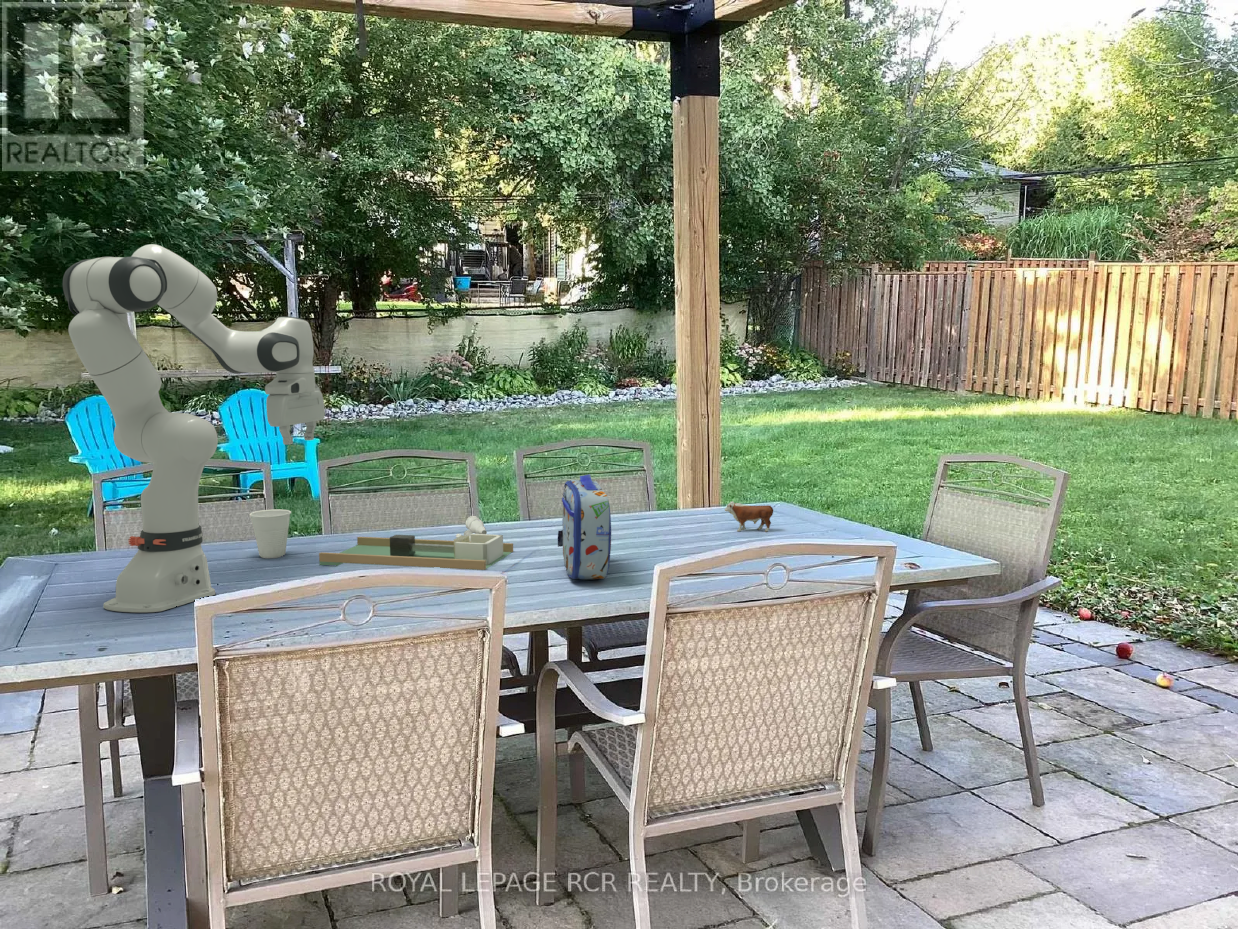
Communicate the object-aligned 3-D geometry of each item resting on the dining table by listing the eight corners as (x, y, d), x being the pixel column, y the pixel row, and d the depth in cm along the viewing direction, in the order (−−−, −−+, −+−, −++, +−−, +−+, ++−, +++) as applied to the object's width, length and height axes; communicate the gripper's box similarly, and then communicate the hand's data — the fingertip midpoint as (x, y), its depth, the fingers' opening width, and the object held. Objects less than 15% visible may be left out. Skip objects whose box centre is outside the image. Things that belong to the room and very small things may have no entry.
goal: (487, 565, 236) (486, 544, 235) (455, 563, 237) (454, 542, 237) (503, 555, 246) (502, 535, 246) (472, 553, 248) (472, 533, 247)
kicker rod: (462, 559, 240) (461, 540, 240) (388, 556, 245) (388, 536, 244) (469, 555, 245) (469, 535, 244) (398, 551, 249) (397, 532, 249)
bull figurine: (724, 528, 283) (724, 500, 282) (772, 529, 281) (773, 500, 280) (724, 531, 278) (724, 502, 277) (773, 532, 277) (773, 503, 275)
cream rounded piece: (476, 557, 257) (461, 543, 255) (465, 546, 270) (451, 533, 268) (497, 533, 258) (482, 520, 257) (485, 524, 271) (471, 511, 270)
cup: (280, 561, 246) (277, 517, 244) (243, 559, 248) (241, 515, 246) (300, 552, 255) (298, 509, 254) (265, 551, 257) (263, 508, 256)
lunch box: (556, 559, 246) (555, 470, 243) (598, 558, 247) (597, 469, 244) (569, 587, 219) (567, 487, 216) (616, 585, 220) (615, 486, 217)
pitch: (484, 574, 231) (484, 561, 231) (319, 565, 241) (318, 553, 240) (513, 555, 251) (513, 543, 250) (359, 548, 260) (359, 536, 260)
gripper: (307, 382, 252) (309, 437, 254) (260, 387, 233) (263, 446, 234) (329, 382, 251) (332, 437, 253) (284, 387, 231) (287, 447, 233)
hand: (298, 442), depth 243 cm, fingers open, 8 cm apart
